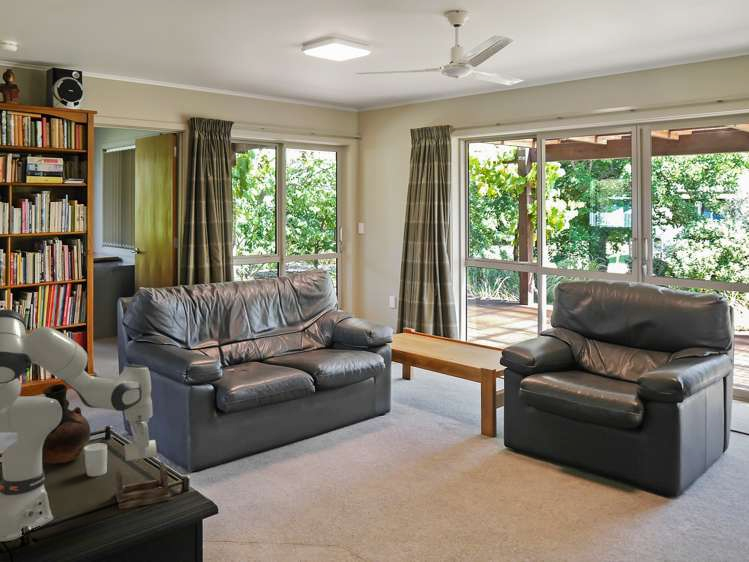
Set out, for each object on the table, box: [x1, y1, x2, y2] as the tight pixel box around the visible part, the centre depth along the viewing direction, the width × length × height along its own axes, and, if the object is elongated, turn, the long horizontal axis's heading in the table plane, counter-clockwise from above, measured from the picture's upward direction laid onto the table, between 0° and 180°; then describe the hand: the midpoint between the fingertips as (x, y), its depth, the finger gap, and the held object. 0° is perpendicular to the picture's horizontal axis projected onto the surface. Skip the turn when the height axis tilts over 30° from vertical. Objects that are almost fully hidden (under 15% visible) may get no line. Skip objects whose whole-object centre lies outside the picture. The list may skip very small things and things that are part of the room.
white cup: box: [83, 442, 108, 477], centre depth 251 cm, size 8×8×10 cm
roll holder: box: [114, 461, 171, 510], centre depth 230 cm, size 16×13×10 cm
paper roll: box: [124, 439, 158, 462], centre depth 229 cm, size 10×6×6 cm, turn 115°
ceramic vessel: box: [42, 383, 91, 464], centre depth 262 cm, size 21×18×30 cm
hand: (140, 452), depth 229 cm, fingers closed on paper roll, 5 cm apart
